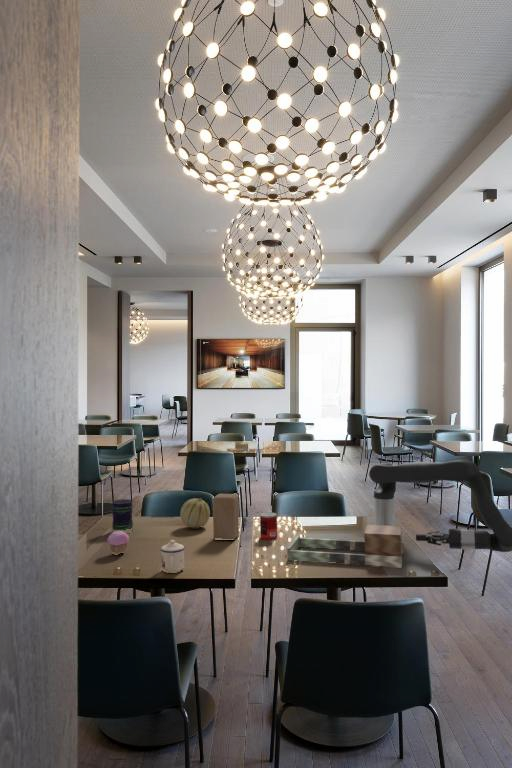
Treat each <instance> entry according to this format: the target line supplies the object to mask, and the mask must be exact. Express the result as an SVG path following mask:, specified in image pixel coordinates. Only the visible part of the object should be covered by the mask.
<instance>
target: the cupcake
mask: <svg viewBox="0 0 512 768" xmlns="http://www.w3.org/2000/svg"><path fill="white" fill-rule="evenodd" d="M107 542H108V544H109V545H110V552H111V551H112V552H115V553H119V552H123V551H125V550H126V549H127V545H128V543H129V542H130V537H129V534H126V533H125V532H123V531H115V532H113V531H112V533H110V534H109V536H108V537H107ZM126 551H127V550H126ZM126 551H125V552H126Z"/></svg>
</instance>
